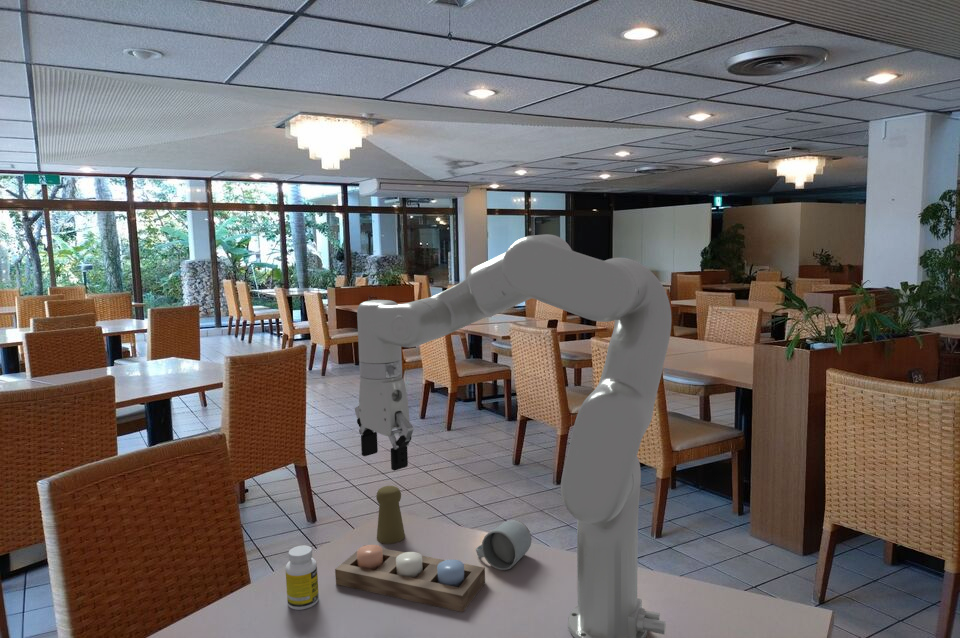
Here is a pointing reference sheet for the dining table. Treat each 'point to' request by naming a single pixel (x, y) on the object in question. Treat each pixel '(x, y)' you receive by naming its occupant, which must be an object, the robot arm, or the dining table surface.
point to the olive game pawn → (389, 515)
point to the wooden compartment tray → (412, 581)
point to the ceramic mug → (505, 544)
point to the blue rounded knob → (450, 572)
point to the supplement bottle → (301, 578)
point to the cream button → (409, 564)
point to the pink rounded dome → (370, 556)
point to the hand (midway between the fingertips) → (384, 461)
